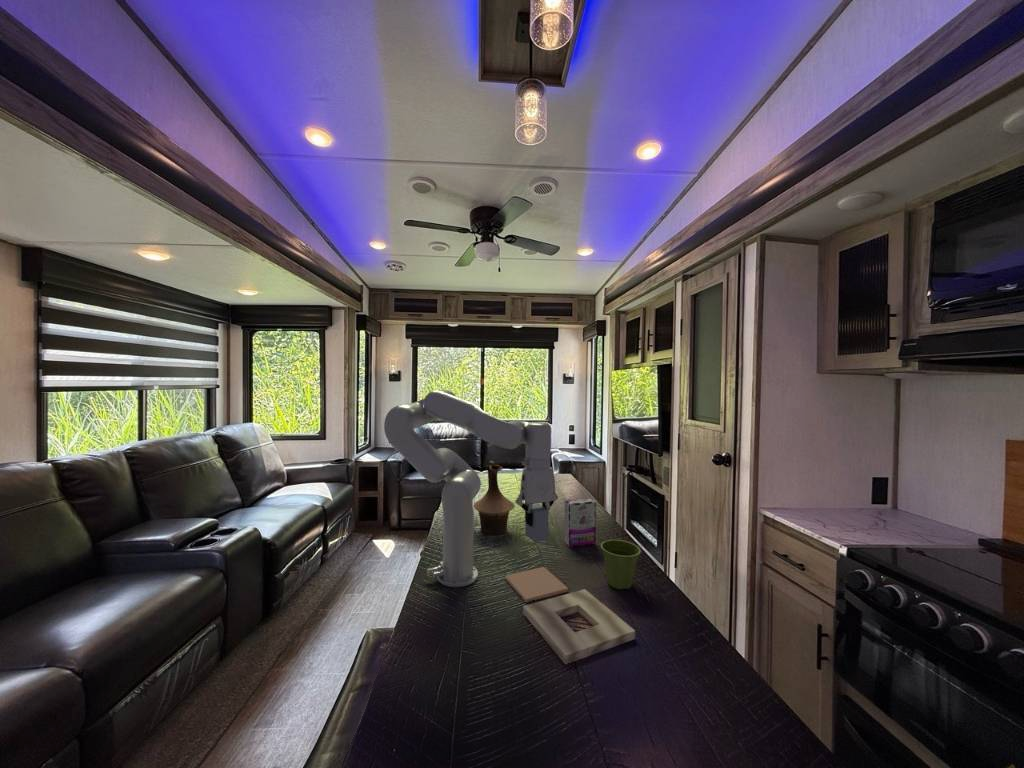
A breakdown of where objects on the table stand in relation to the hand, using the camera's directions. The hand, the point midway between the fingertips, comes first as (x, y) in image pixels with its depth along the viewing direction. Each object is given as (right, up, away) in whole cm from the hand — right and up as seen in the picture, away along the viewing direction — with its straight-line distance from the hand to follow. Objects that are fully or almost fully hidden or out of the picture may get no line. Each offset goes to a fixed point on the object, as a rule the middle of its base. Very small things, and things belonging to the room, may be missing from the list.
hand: (536, 522), depth 115 cm
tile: (0, -19, 0) cm, 19 cm away
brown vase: (-15, -18, +42) cm, 48 cm away
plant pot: (+26, -20, +2) cm, 32 cm away
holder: (+9, -19, -19) cm, 28 cm away
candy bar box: (+18, -19, +30) cm, 40 cm away
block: (0, -4, 0) cm, 4 cm away
